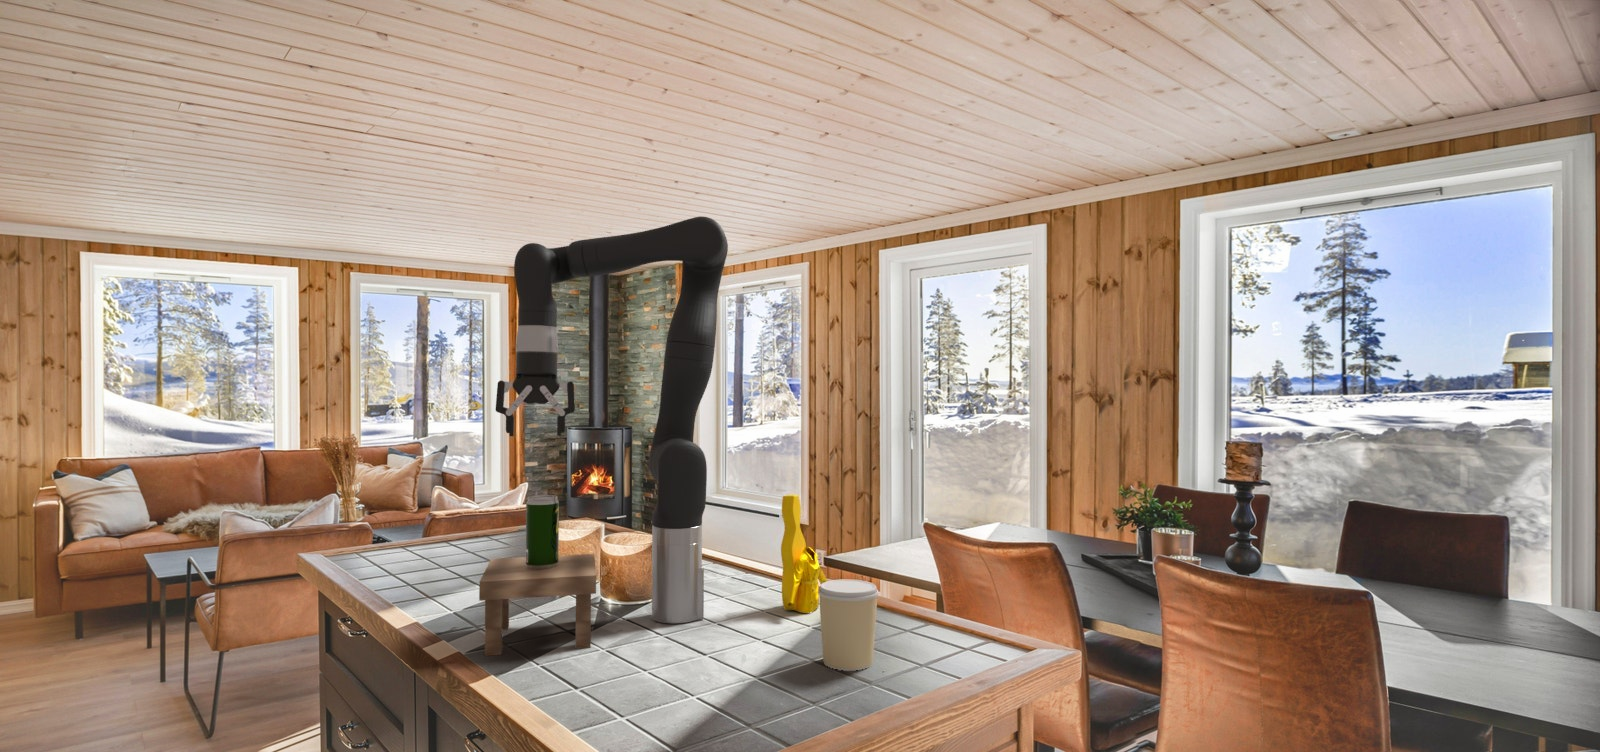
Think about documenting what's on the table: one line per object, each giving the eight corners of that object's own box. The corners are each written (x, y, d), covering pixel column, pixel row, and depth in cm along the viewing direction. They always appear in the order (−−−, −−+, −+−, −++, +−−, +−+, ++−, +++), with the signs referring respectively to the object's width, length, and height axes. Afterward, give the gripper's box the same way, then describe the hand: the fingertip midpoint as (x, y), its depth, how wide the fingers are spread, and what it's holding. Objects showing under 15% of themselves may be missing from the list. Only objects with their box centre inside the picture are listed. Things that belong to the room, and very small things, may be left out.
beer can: (530, 571, 137) (530, 499, 137) (522, 565, 142) (522, 496, 142) (562, 567, 140) (562, 497, 140) (553, 561, 145) (553, 494, 145)
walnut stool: (593, 618, 152) (594, 553, 152) (595, 648, 134) (596, 575, 135) (490, 625, 147) (491, 558, 147) (478, 657, 130) (479, 581, 130)
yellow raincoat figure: (800, 623, 149) (800, 502, 150) (761, 618, 153) (762, 500, 153) (836, 600, 165) (836, 491, 166) (801, 596, 169) (801, 489, 169)
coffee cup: (884, 656, 131) (884, 581, 131) (869, 676, 122) (869, 595, 122) (828, 650, 134) (828, 576, 134) (810, 668, 125) (810, 590, 125)
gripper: (575, 352, 161) (574, 434, 161) (498, 350, 157) (497, 435, 157) (576, 350, 154) (574, 437, 153) (495, 348, 150) (493, 437, 149)
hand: (535, 435), depth 155 cm, fingers open, 8 cm apart
